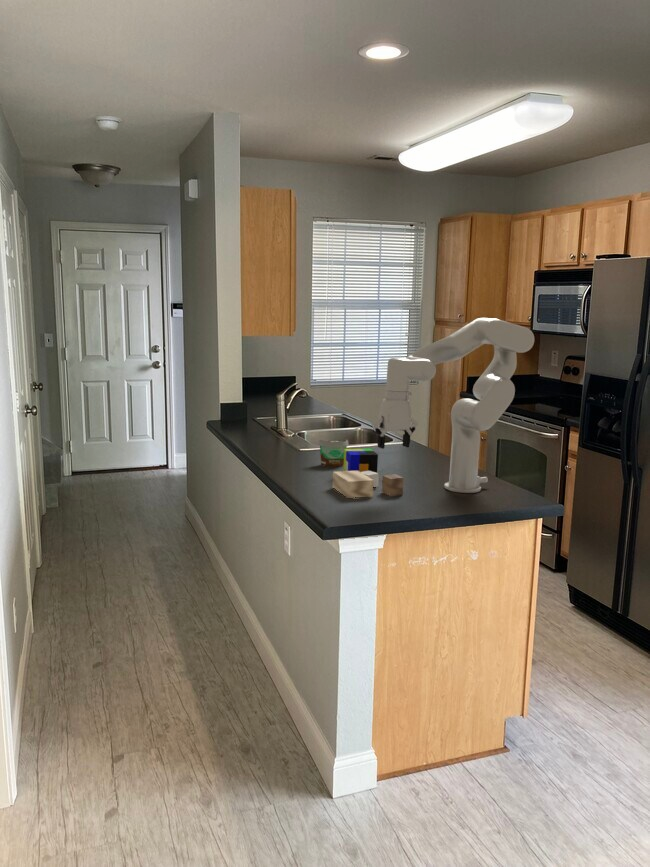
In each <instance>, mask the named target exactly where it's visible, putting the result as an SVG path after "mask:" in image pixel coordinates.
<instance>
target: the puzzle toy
mask: <svg viewBox="0 0 650 867" xmlns="http://www.w3.org/2000/svg"><path fill="white" fill-rule="evenodd" d="M378 459H379V454H378V453H376V452H375V450H373V449H371V448H346V449H344V466H343V470H342V471H357V470H358V471H359V472H363V471H372V472H376V473H378V465H379V464H378V463H379V462H378V461H379V460H378Z"/></svg>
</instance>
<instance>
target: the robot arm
mask: <svg viewBox="0 0 650 867" xmlns="http://www.w3.org/2000/svg"><path fill="white" fill-rule="evenodd" d="M534 343H535V336H534V333H533V332H532V330H531V329H529V327H526V326H524V325H522V326H521V325H519V324H516V323H512V322H509V321H505V320H502V319H498V318H490V317H489V318H488V317H479V318H475V319H474V320H472V321H471V322H468V323H467V324H466V325H464V326H462V327H461V328H459V329H458V330H456V331H454V332H452V333H451V334H450V335H448V336H446V337H444V338H442V339H439V340H437V341H435V342H432V343H429V344H427V345H425V346H422V347H420V348H419V349H417V350H415V351H414V352H412V353H411V354H410V355H408V356H406V357H405V358H403V357H390V358H389V359H388V362H387V366H386V367H387V369H386V385H385V398H383V399H382V402H381V405H380V409H379V417H378V418H377V419H376V420H373V422H371V425H372V429H373V431H374V433H375V434H376V435H377V442H376V443H377V448H379V449H385V447H386V446H385V444H386V436H385V435H386V433H387V432H388V431H389V432H391V431H393V432H394V431H403V434H402V446H403V447H405V448H410V444H411V436H412V435H413V433H414V432H415V431H416V428H417V426H418V424H419V422H418V421H417V420H416V419H414V418H412V414H411V413H412V411H411V410H412V408H411V400H409V399H410V397H411V396H412V392H410V382H411V381H414V382H416V381H417V382H421V383H424V382H429V381H430V380H432V379H434V377H435V376H436V373H437V368H436V365H438V364H442V363H447V362H453V361H457V360H460V359H463V358H464V357H466V356H467V355H468V354H470V353H472V352H474V351H475V350H476V349H478V348H479V347H481V346H483V345H485V344H486V345H493V351H494V352H493V353H494V354H493V358H492V360H491V361H490V363H489V365H487V367H486V368H485V370H484V372H483V373H481V375H480V376H479V378H478V379H477V380H476V381H475V383H474V384H473V388H472V393H473V396H474V397H475V398H476V399H472V398H468V397H467V398H460V399H458V400H457V401H455V402H454V404H453V405H452V408H451V412H450V416H451V418H450V419H451V420H450V421H451V431H452V433H451V434H452V435H451V448H450V462H449V464H450V465H449V478H448V481H447V482H444V486H443V487H444V489H446V490H448V491H450V492H454V493H459V494H460V493H461V494H462V493H463V494H473V493H479V492H481V490H482V486H481V485H480V484H481V483H483V484H484V483H488V481H489V479H488V476H482V477H481V476H479V475H478V473H479V460H480V459H479V458H480V446H481V433H480V432H485V431H488V430H489V429H491V428H492V427H493V426H494V425H495V424H496V423H497V422H498V420H499V419H500V418H501V416H502V415H503V414H504V413H505V412H506V410H507V409H508V407H509V406H510V405H511V403H513V400H514V398H515V392H516V387H515V384H514V383H513V381H512V380H511V378H512V377H513V376H514V374H515V371H516V369H517V365H518V363H517V362H518V361H517V360H518V359H517V358H518V357H517V353H522V354H523V353H526V352H528V351H530V350H531V349H532V348H533V346H534Z"/></svg>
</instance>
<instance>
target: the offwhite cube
mask: <svg viewBox="0 0 650 867" xmlns="http://www.w3.org/2000/svg"><path fill="white" fill-rule="evenodd" d="M361 473H363V474H364V475H366V476H368V477H369V478H371V479H372V480H374V484H373V487H376V488H378V487H379V480H380V478H379V477H380V476H379V475H380V474H379V472H377V473H376V472H372V471H363V472H361ZM377 486H378V487H377Z"/></svg>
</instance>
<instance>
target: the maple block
mask: <svg viewBox="0 0 650 867" xmlns="http://www.w3.org/2000/svg"><path fill="white" fill-rule="evenodd" d="M373 484H374V480H372V479H371V478H369V477H368V476H366V475H364V474H363V473H361V472H359V471H358V470H357V471H343V470H342V471H341V470H337V471H333V472H332V489H333V488H335V489H336V490H337V491H339V492H340V493H342V494H343V495H344V496H346V497H347V498H353V497H354V498H353V499H356V498H355V497H369V498H374V488H373ZM335 489H334V490H335ZM336 490H335V491H336ZM337 491H336V492H337ZM339 492H338V493H339ZM340 493H339V494H340ZM343 495H342V496H343ZM344 496H343V497H344ZM347 498H346V499H347Z"/></svg>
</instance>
